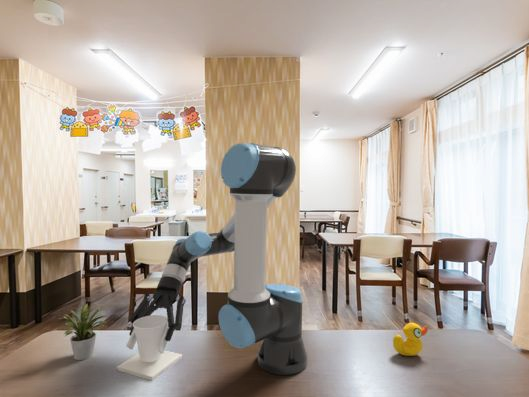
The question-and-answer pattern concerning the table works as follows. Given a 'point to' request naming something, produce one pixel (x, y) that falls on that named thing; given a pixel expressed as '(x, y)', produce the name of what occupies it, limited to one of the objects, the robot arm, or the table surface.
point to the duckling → (410, 340)
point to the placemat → (149, 365)
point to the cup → (149, 336)
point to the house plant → (83, 333)
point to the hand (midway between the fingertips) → (144, 349)
